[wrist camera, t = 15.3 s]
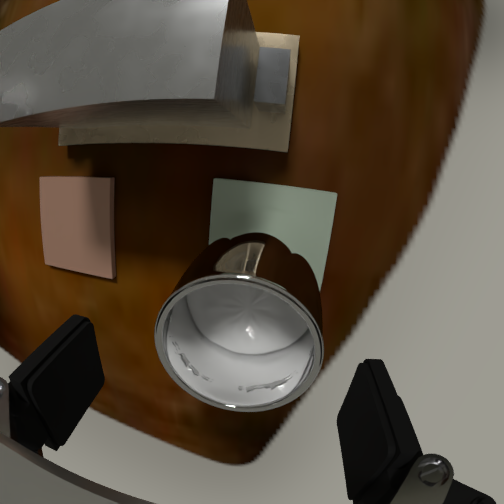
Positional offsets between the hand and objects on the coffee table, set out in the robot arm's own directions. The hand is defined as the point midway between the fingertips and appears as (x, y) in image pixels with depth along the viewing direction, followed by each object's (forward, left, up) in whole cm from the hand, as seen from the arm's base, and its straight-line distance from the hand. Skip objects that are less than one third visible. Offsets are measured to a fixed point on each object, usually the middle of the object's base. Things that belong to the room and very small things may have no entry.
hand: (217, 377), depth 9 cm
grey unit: (+3, +16, -17) cm, 24 cm away
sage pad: (0, -1, -17) cm, 17 cm away
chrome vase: (0, 0, -17) cm, 17 cm away
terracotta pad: (-13, +14, -17) cm, 26 cm away
